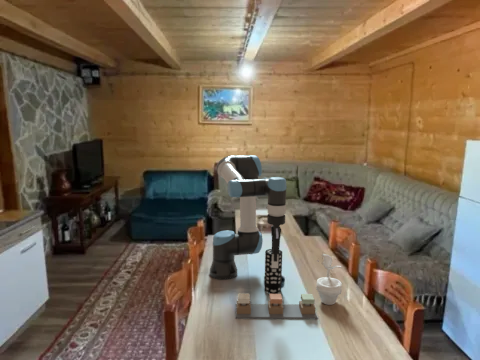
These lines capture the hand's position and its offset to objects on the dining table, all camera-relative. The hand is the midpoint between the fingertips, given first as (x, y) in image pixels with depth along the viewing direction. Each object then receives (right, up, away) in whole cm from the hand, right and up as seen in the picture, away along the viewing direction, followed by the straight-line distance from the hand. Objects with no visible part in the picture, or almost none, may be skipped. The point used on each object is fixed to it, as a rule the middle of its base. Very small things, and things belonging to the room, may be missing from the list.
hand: (274, 267), depth 158 cm
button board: (+1, -21, +4) cm, 21 cm away
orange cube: (+1, -18, +3) cm, 19 cm away
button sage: (+15, -19, +4) cm, 24 cm away
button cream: (-13, -18, +3) cm, 23 cm away
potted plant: (+26, -20, +13) cm, 35 cm away
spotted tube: (+1, -17, +25) cm, 30 cm away
